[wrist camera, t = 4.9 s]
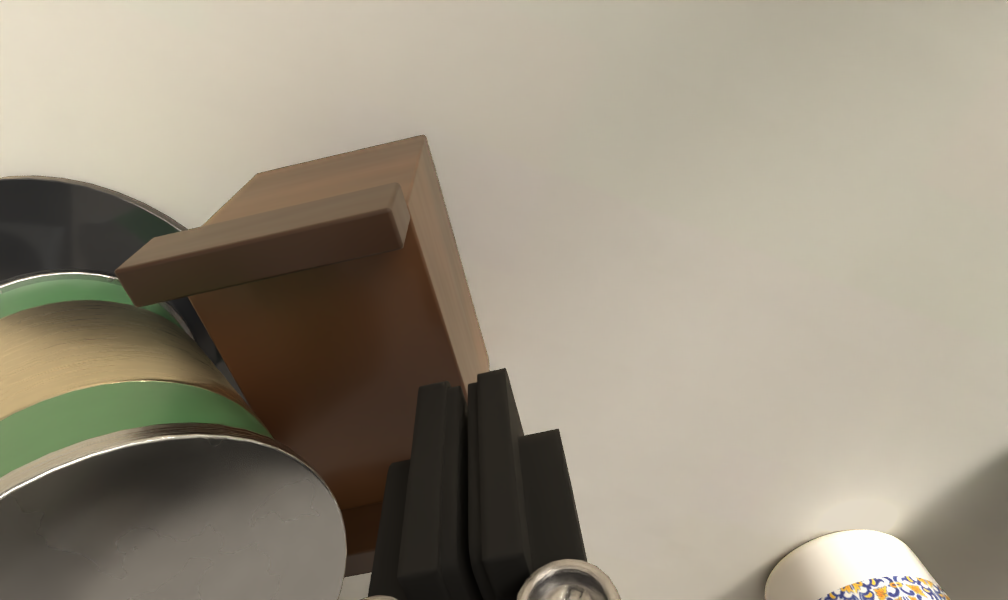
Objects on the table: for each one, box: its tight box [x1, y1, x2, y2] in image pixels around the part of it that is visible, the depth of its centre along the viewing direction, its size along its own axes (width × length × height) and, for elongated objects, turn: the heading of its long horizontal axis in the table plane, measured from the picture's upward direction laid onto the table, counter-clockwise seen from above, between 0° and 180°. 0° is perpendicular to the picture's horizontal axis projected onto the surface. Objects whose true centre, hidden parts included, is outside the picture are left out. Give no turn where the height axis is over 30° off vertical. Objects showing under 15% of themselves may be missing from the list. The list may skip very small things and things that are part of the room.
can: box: [0, 269, 347, 600], centre depth 13 cm, size 7×12×13 cm, turn 102°
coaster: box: [0, 176, 250, 407], centre depth 19 cm, size 11×11×1 cm
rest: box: [114, 135, 489, 577], centre depth 15 cm, size 9×5×7 cm, turn 12°
